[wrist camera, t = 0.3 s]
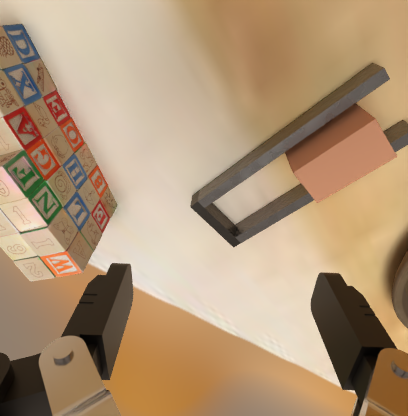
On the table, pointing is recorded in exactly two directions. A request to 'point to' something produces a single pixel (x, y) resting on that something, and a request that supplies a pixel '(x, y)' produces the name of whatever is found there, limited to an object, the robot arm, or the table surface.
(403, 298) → the plant saucer
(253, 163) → the rectangular frame
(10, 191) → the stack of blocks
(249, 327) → the table surface
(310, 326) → the table surface
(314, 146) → the block
